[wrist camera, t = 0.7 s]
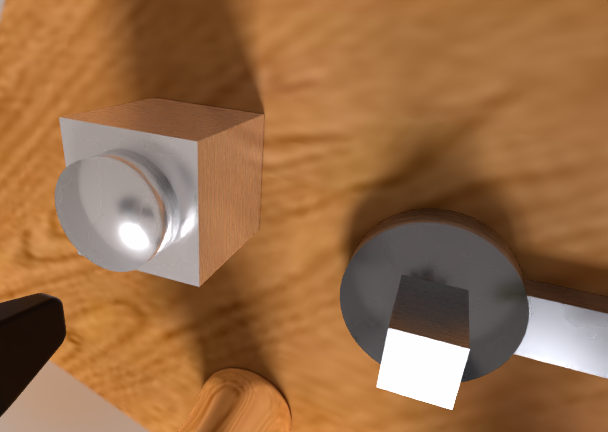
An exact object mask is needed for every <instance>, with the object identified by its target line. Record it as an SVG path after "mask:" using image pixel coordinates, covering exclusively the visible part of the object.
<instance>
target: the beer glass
mask: <svg viewBox="0 0 608 432" xmlns="http://www.w3.org/2000/svg"><path fill="white" fill-rule="evenodd" d="M290 425H291V415H290V410H289V407H288V405H287V403H286V401H285V399H284V397H283V396H282V395H281V393H280V392H279V391H278V390H277V389H276V388H275V387H274V386H273V385H272V384H271V383H270V382H269V381H267V380H266V379H264V378H263V377H261V376H259V375H257V374H255V373H253V372H250V371H247V370H243V369H237V368H228V369H222V370H219V371H217V372H215V373H214V374H213V375H211V376H210V377H209V378H208V379H207V381H206V382H205V384H204V386H203V388H202V390H201V392H200V394H199V396H198V398H197V401H196V403H195V405H194V407H193V409H192V411H191V413H190V415H189V416H188V418H187V419H186V421H185V422H184V424H183V425H182V426H181V428H180V429H179V430H178V431H177V432H289V429H290Z"/></svg>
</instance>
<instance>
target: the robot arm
mask: <svg viewBox="0 0 608 432" xmlns="http://www.w3.org/2000/svg"><path fill="white" fill-rule="evenodd" d="M65 336H66V325H65V318H64V311H63V305H62V302H61V300H60V299H58V298H56V297H53V296H50V295H47V294H44V293H37V294H33V295H29V296H25V297H21V298H18V299H14V300H10V301H6V302H2V303H0V417H1V416H2V415H3V414H4V413H5V411H6V410H7V409H8V408H9V407H10V406H11V405H12V403H13V402H14V401H15V400H16V399H17V398H18V396H19V395H20V394H21V393H22V392H23V390H24V389H25V388H26V387H27V385H28V384H29V383H30V382H31V381H32V379H33V378H34V377H35V376H36V375H37V373H38V372H39V371H40V370H41V369H42V367H43V366H44V365H45V364H46V362H47V361H48V360H49V359H50V358H51V356H52V355H53V354H54V353H55V352H56V350H57V349H58V348H59V347H60V346H61V344H62V343H63V341H64V339H65Z"/></svg>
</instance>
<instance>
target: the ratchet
mask: <svg viewBox="0 0 608 432" xmlns="http://www.w3.org/2000/svg"><path fill="white" fill-rule="evenodd" d="M340 304H341V310H342V314H343V318H344V320H345V323H346V326H347V328H348V329H349V331H350V333H351V335H352V336H353V338H354V339H355V341H356V342H357V343H358V345H359V346H360V347H361V348H362V349H363V350H364V351H365V352H366V353H367V354H368V355H369V356H370V357H371V358H373V359H374V360H375V361H377V362H378V363H379V364H381V367H380V372H379V378H378V383H377V387H378V388H381V389H385V390H388V391H391V392H395V393H398V394H401V395H405V396H408V397H411V398H415V399H418V400H421V401H425V402H428V403H431V404H435V405H438V406H441V407H445V408H448V409H451V410H452V408H453V405H454V401H455V398H456V395H457V391H458V388H459V384H460V382H464V381H469V380H472V379H476V378H479V377H481V376H484V375H486V374H488V373H490V372H492V371H494V370H495V369H497V368H499V367H500V366H501V365H503V364H504V363H505V362H506V361H508V360H509V358H510V357H511V356H512V355H513V354H516V355H520V356H523V357H527V358H531V359H535V360H539V361H543V362H546V363H550V364H554V365H558V366H562V367H566V368H569V369H573V370H577V371H581V372H585V373H589V374H592V375H596V376H600V377H604V378H608V297H606V296H602V295H597V294H593V293H588V292H584V291H579V290H574V289H570V288H565V287H561V286H556V285H552V284H547V283H542V282H538V281H533V280H529V279H524V278H522V274H521V270H520V267H519V264H518V262H517V260H516V257H515V256H514V254H513V252H512V251H511V249H510V248H509V246H508V245H507V244H506V243H505V242H504V240H503V239H502V238H501V237H500V236H499V235H498V234H496V233H495V232H494V231H493V230H492V229H490V228H489V227H487V226H486V225H485V224H483V223H481V222H479V221H477V220H476V219H474V218H472V217H469V216H466V215H464V214H461V213H457V212H453V211H449V210H442V209H417V210H410V211H406V212H402V213H399V214H396V215H394V216H391V217H389V218H387V219H385V220H384V221H382V222H380V223H379V224H377V225H376V226H375V227H373V228H372V229H371V230H370V231H369V232H368V233H367V234H366V235H365V236H364V238H363V239H362V240H361V241H360V243H359V245H358V246H357V248H356V250H355V252H354V254H353V256H352V258H351V260H350V262H349V264H348V266H347V268H346V270H345V273H344V275H343V278H342V283H341V287H340Z"/></svg>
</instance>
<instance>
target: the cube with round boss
mask: <svg viewBox="0 0 608 432" xmlns="http://www.w3.org/2000/svg"><path fill="white" fill-rule="evenodd" d="M264 115H265V114H259V113H252V112H246V111H239V110H232V109H226V108H219V107H213V106H206V105H200V104H193V103H186V102H180V101H173V100H167V99H160V98H150V99H145V100H140V101H135V102H131V103H126V104H121V105H116V106H111V107H106V108H101V109H97V110H92V111H87V112H82V113H77V114H72V115H68V116H63V117H59V119H60V126H61V134H62V141H63V148H64V156H65V163H66V168H65V169H64V171H63V172H62V173H61V175H60V177H59V179H58V181H57V185H56V190H55V205H56V211H57V215H58V218H59V221H60V223H61V226H62V228H63V230H64V232H65V234H66V235H67V237H68V238H69V240H70V241H71V243H72V244H73V245H74V246H75V247H76V249H77V250H78V254H79V255H83V256H85V257H86V258H87V259H89V260H90V261H91V262H93V263H95V264H96V265H98V266H100V267H102V268H105V269H108V270H111V271H117V272H127V271H132V270H138V271H142V272H146V273H149V274H153V275H157V276H160V277H164V278H168V279H172V280H175V281H179V282H183V283H186V284H190V285H194V286H197V287H200V286H201V285H202V284H203V283H204V282H205V281H206V280H207V279H208V278H209V277H210V276H211V275H212V274H213V273H214V272H216V271H217V270H218V269H219V268H220V267H221V266H222V265H223V264H224V263H225V262H226V261H227V260H228V259H229V258H230V257H231V256H232V255H233V254H234V253H235V252H236V251H237V250H238V249H240V248H241V247H242V246H243V245H244V244H245V243H246V242H247V241H248V240H249V239H250V238H251V237H252V236H253V235H254V234H255V233H256V232H257V231H258V230H259V221H260V200H261V179H262V157H263V136H264Z"/></svg>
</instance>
